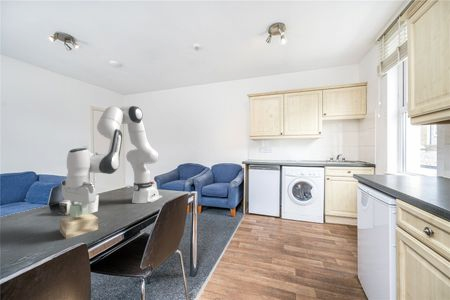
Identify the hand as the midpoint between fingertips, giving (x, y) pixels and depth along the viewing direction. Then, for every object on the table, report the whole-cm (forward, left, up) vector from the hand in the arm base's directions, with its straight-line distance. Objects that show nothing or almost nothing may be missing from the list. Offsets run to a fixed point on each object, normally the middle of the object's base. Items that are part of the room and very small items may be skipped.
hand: (79, 210), depth 88 cm
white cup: (-19, -22, -10) cm, 31 cm away
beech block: (0, 0, -10) cm, 10 cm away
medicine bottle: (-13, -33, -10) cm, 37 cm away
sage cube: (0, 0, -2) cm, 2 cm away
